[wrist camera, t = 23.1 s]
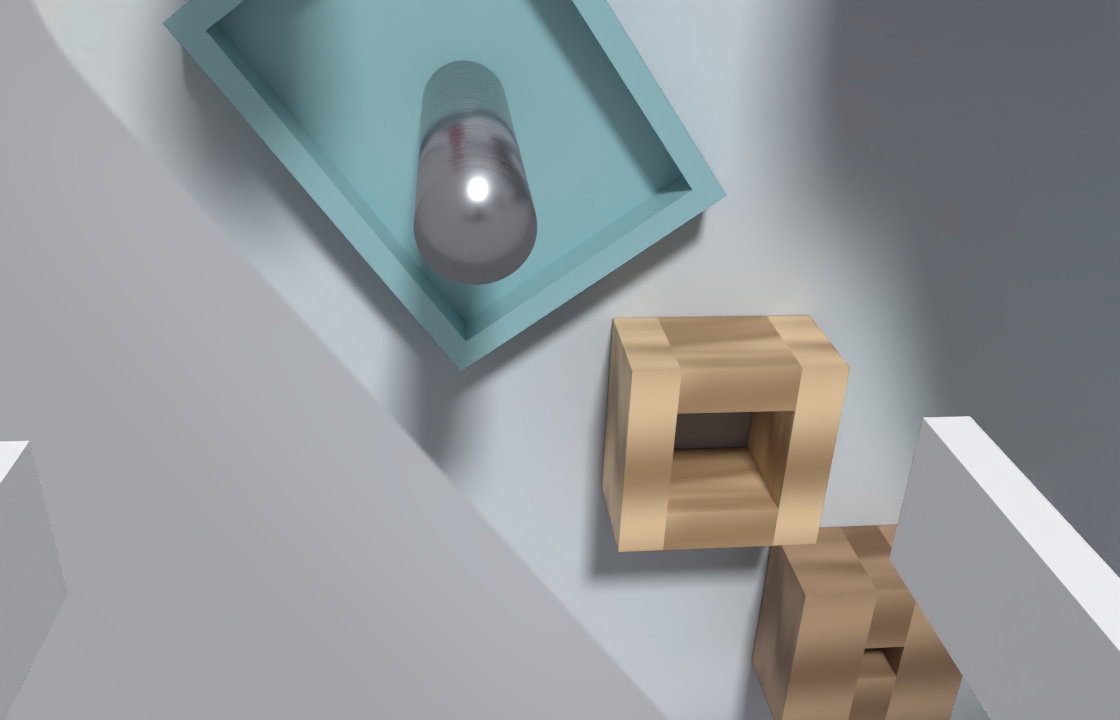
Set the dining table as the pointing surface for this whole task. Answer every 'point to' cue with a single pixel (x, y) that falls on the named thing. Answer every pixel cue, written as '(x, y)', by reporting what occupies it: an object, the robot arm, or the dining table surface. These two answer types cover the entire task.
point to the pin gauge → (471, 179)
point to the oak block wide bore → (721, 473)
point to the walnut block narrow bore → (848, 634)
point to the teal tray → (395, 122)
